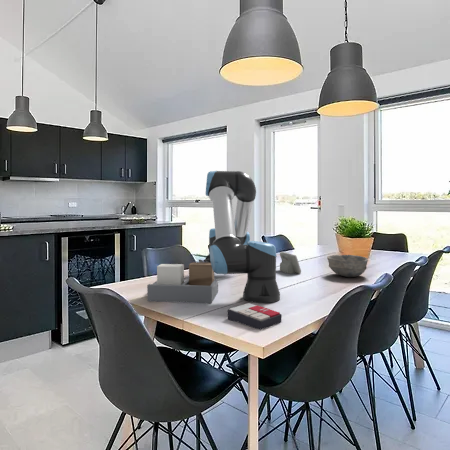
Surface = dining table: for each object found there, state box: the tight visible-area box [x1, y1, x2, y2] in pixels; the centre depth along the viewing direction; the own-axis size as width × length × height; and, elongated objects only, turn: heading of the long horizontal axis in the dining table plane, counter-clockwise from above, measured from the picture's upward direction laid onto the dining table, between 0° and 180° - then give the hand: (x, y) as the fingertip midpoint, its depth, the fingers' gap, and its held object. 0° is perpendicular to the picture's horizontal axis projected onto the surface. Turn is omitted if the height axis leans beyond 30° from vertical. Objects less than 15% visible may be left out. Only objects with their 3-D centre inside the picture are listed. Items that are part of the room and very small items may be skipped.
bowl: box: [326, 254, 369, 278], centre depth 201 cm, size 21×21×10 cm
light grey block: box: [156, 263, 185, 285], centre depth 161 cm, size 6×10×11 cm, turn 83°
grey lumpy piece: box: [279, 251, 302, 275], centre depth 213 cm, size 16×9×11 cm, turn 9°
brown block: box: [188, 261, 215, 286], centre depth 166 cm, size 6×10×11 cm, turn 83°
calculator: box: [227, 302, 283, 331], centre depth 128 cm, size 11×4×15 cm
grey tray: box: [146, 278, 219, 304], centre depth 160 cm, size 18×26×6 cm
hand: (205, 268), depth 176 cm, fingers closed
